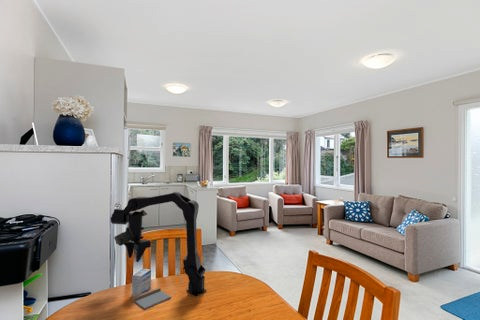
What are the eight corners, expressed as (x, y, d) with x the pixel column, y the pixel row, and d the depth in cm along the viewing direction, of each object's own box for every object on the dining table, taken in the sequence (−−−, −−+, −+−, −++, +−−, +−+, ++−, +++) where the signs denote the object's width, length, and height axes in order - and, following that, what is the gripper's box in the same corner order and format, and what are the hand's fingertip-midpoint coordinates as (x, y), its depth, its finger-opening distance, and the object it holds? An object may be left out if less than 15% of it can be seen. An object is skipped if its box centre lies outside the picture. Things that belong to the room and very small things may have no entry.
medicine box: (140, 297, 108) (141, 276, 108) (131, 296, 109) (131, 275, 109) (150, 288, 116) (151, 269, 116) (141, 287, 117) (142, 268, 117)
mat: (159, 290, 114) (159, 287, 114) (171, 298, 109) (171, 294, 109) (132, 301, 105) (133, 297, 105) (144, 309, 99) (144, 305, 99)
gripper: (108, 224, 118) (106, 258, 117) (127, 232, 106) (126, 270, 105) (131, 220, 126) (130, 253, 126) (152, 227, 114) (151, 263, 114)
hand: (133, 259), depth 118 cm, fingers open, 7 cm apart
